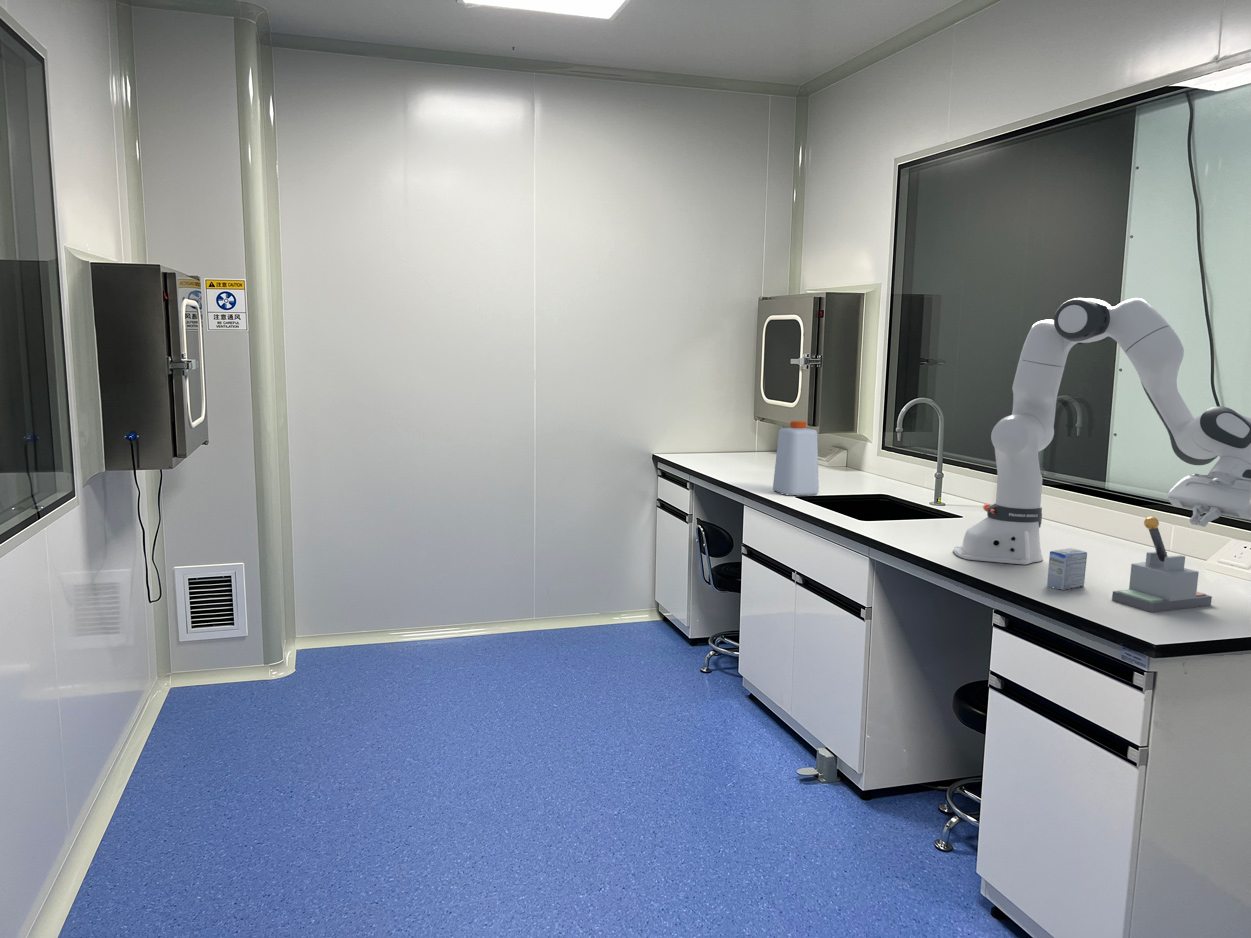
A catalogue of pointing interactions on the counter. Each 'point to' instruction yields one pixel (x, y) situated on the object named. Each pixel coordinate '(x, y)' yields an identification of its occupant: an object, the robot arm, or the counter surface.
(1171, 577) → the breaker block
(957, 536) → the counter surface
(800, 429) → the plastic bottle
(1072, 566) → the medicine box
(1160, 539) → the lever
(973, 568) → the counter surface
